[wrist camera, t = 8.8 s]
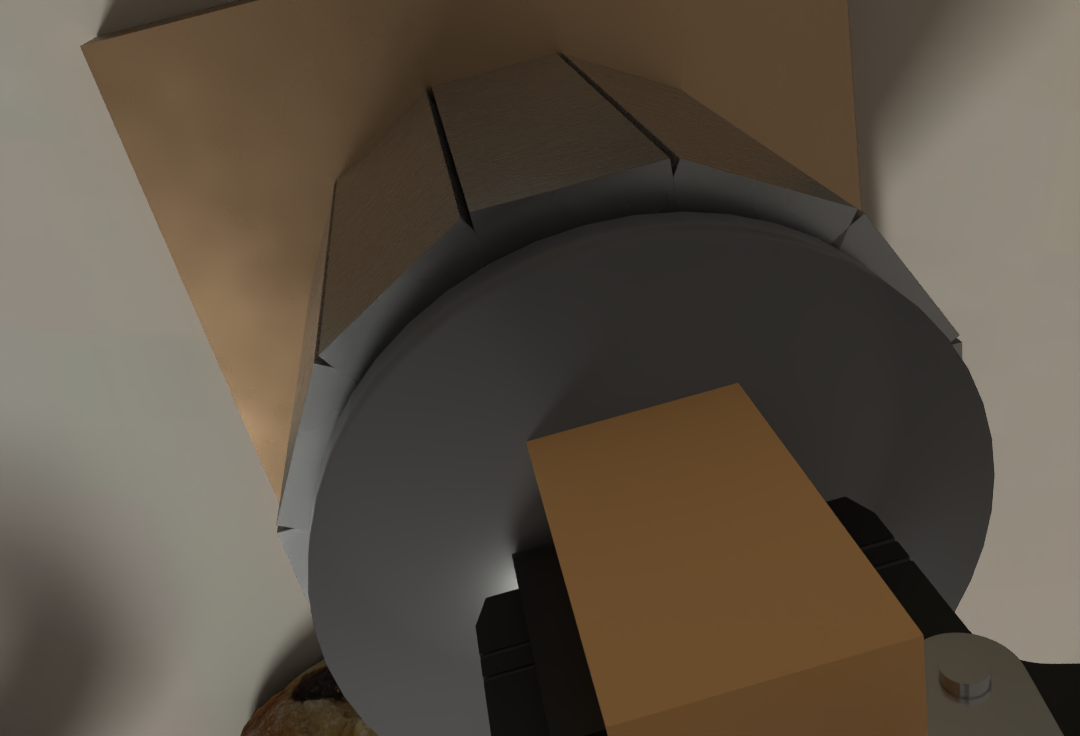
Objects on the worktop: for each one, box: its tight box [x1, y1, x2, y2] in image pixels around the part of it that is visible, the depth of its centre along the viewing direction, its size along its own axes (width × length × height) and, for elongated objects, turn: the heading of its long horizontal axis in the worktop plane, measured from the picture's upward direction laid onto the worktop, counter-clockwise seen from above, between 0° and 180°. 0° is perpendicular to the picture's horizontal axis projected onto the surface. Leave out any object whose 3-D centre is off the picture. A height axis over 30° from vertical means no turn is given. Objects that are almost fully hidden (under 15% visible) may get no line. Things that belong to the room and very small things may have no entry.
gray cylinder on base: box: [80, 0, 962, 608], centre depth 20 cm, size 16×16×10 cm
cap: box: [308, 212, 994, 736], centre depth 13 cm, size 10×10×8 cm
